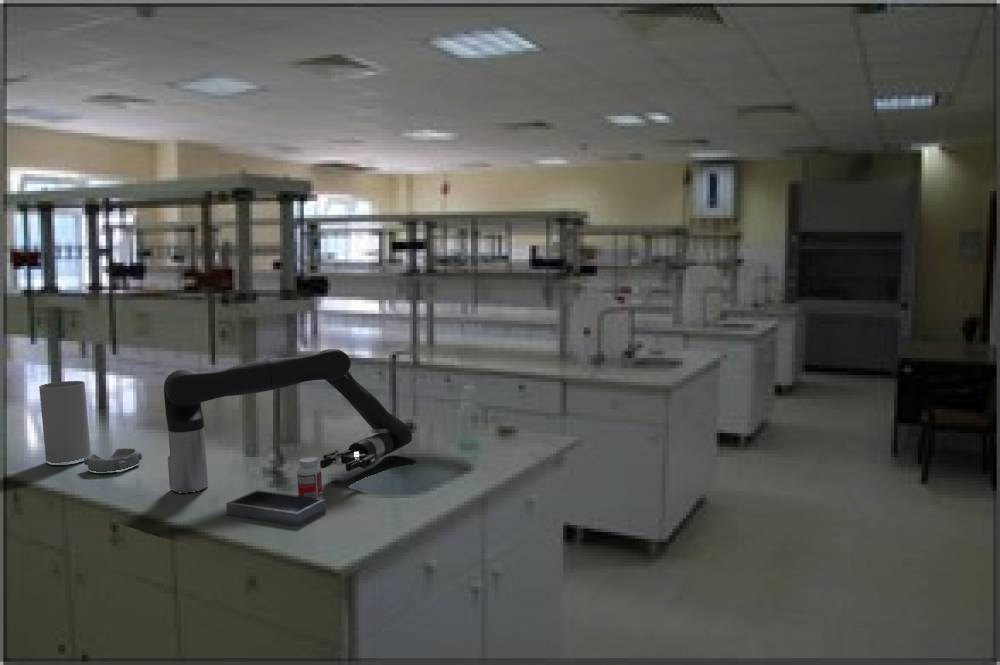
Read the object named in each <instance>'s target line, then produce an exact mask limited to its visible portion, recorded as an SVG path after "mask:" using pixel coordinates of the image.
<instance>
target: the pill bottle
mask: <svg viewBox="0 0 1000 665" xmlns="http://www.w3.org/2000/svg"><path fill="white" fill-rule="evenodd" d="M318 464H319V460H318V457H317V456H306V457H302V458H300V459H299V466H300V467H298V468H297V470H296V471H297V472H296V474H297V493H298V496H305V497H312V498H319V499H323V496H324V495H323V482H322V481H323V479H322V468H321V467H320V465H318Z"/></svg>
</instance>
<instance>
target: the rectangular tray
mask: <svg viewBox="0 0 1000 665" xmlns="http://www.w3.org/2000/svg"><path fill="white" fill-rule="evenodd" d="M225 507H226V515H227V514H230V515H229V516H231V515H235V516H234V517H238V516H240V517H239V518H245V519H250V518H251V519H252V520H258V521H264V522H269V523H270V522H271V523H277V524H282V525H290V526H296V527H299V526H301V525H303V524H304V523H307V522H309V521H310V520H312V519H314V518H316V517H318V516H319V515H321V514H324V513H325V512H327V502H326V499H325V498H322V499H319V498H312V497H305V496H298V495H296V494H290V493H281V492H275V491H267V490H261V489H256V490H254V491H251V492H248V493H246V494H245V495H242V496H239V497H238V498H235V499H233V500H231V501H228V502H226V506H225Z"/></svg>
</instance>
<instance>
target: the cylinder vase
mask: <svg viewBox="0 0 1000 665" xmlns="http://www.w3.org/2000/svg"><path fill="white" fill-rule="evenodd" d="M38 389H39V401H40V412H41V422H42V431H43V432H42V433H43V442H44V443H43V444H44V452H45V454H44V455H45V462H46V461H48V462H51V463H61V462H70V461H75V460H79V459H82V458H86V457H88V456H89V455H90V454H91V453H92V452H91V451H92V450H91V440H90V439H91V438H90V428H89V420H88V419H89V418H88V415H89V414H88V406H87V392H86V382H85V381H82V380H66V381H64V380H63V381H55V382H49V383H44V384H41V385H39V387H38Z"/></svg>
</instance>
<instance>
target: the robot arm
mask: <svg viewBox="0 0 1000 665" xmlns="http://www.w3.org/2000/svg"><path fill="white" fill-rule="evenodd" d="M351 365H352V362H351V358H350V357H349V355H348V354H347V353H346V352H345V351H343V350H341V349H338V348H329V349H324V350H321V351H319V352H317V353H315V354H312V355H307V356H299V357H297V356H296V357H294V356H293V357H274V358H263V359H259V360H258V359H257V360H251V361H247V362H244V363H243V362H242V363H240V364H237V365H234V366H231V367H229V368H226V369H223V370H218V371H211V372H203V373H202V372H200V373H199V372H197V373H196V372H194V373H193V372H191V371H189V370H186V369H180V370H179V369H178V370H175V371H173V372H171V373H169V375H168V376H167V377H166V378H165V380H164V383H163V396H164V406H165V407H164V408H165V419H166V423H167V431H168V432H167V433H168V442H169V443H168V444H169V455H168V456H167V469H168V481H169V484H168V485H169V490H170V489H173V491H175V492H181V493H186V492H193V491H198V490H201V489H204V488H206V487H207V486H208V487H209V480H208V464H207V463H208V462H207V448H206V437H205V436H206V434H205V421H204V415H203V411H202V403H205V402H208V401H211V400H215V399H219V398H224V397H231V396H232V397H234V396H235V397H236V396H242V395H250V394H258V393H263V392H269V391H274V390H278V389H283V388H286V387H290V386H294V385H298V384H300V383H302V384H303V383H305V382H306V383H307V382H312V381H326V382H327V383H328V384H329V385H330V386H332V387H333V388H334V389H335V390H337V391H338V392H339V394H341V395H342V396H343V397H344V399H345V400H347V402H349V404H350V405H351V407H353V408H354V410H355V411H356V412H357V413H358V414H359V415H360V416H361V418H362V419H363V420H364V421H365V422H366V423H367V424H368V425H369V427H370V428H372V430H375V431H378V430H379V431H380V430H384V429H385V431H383V432H380V433H377V434H374V435H372V436H368V437H364V438H363V439H360V440H358V441H355V442H353V443H352V444H350V445H349V447H348V449H347V450H344V451H340V452H339V450H336V449H335V450H334V451H330V452H327V453H326V454H323V456H322V457H323V459H321V460H320V461H319V467H320V468H321V469H325V468H328V467H330V466H333V465H336V466H343V465H345V471H346V472H350V471H353V470H356V469H360V468H362V469H364V470H365V469H367V468H369V467H371V466H372V465H375V463H376V462H377V461H378V460H379V459H381V458H383V457H385V456H386V455H389V454H392V453H393V452H395V451H397V450H400V449H401V448H403V447H405V446H407V445H409V444H410V443H411V442H412V440H413V432H412V430H411V428H410V427H409V426H408V425H407V424H406V423H405V422H404V421H402V419H401V420H400V419H399V418H398V417H396V416H395V415H393V414H391V413H390V412H389V411H388V410H387V409H386V407H385V406H384V405H383V404H382V403H381V402H380V401H379V399H377V397H376V396H374V395H373V394H372V393H371V392H370V391H369V390H367V389H365V387H364V386H363V385H361V384H360V383H359V382H358V381H357V380H356V379H355V377H353V375H352V374H351V373H350V372H349V371H350V368H351ZM346 374H347V377H348V379H347V378H346V377H345V376H344V375H346ZM276 388H277V389H276ZM208 487H207V488H208ZM207 488H206V489H207ZM204 490H205V489H204ZM173 491H172V492H173ZM198 492H199V491H198ZM186 494H187V493H186Z"/></svg>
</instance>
